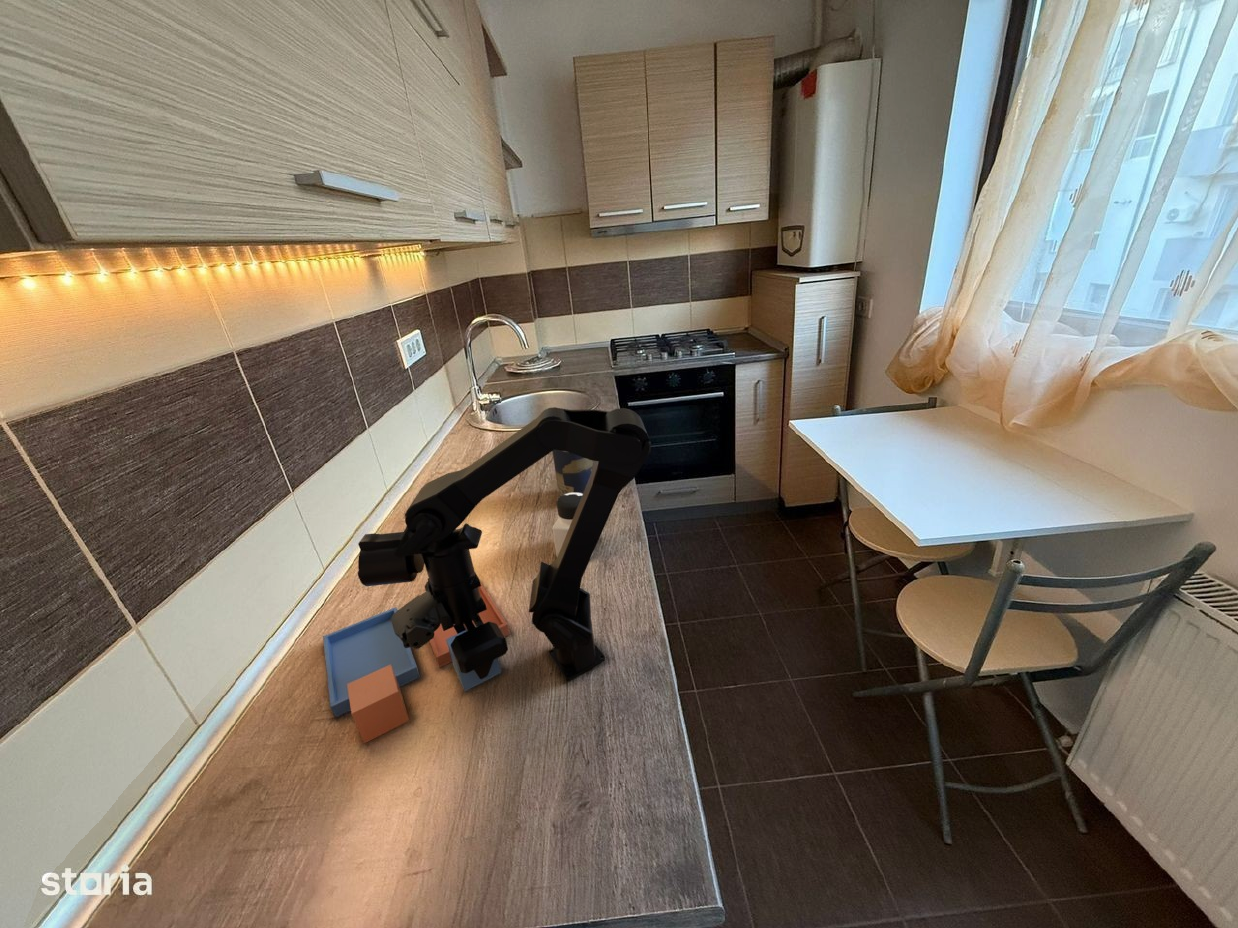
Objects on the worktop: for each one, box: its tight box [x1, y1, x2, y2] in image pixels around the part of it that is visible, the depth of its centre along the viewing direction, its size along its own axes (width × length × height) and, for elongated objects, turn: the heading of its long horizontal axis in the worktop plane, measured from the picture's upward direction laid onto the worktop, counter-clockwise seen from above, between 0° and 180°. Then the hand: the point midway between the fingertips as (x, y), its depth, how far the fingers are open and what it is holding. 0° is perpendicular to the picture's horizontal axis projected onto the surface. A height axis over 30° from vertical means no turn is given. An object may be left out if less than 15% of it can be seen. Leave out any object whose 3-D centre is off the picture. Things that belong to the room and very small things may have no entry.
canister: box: [552, 450, 593, 497], centre depth 114 cm, size 10×10×18 cm
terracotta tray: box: [428, 581, 510, 668], centre depth 80 cm, size 16×11×2 cm
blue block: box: [446, 626, 502, 692], centre depth 69 cm, size 6×6×6 cm
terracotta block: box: [347, 665, 410, 744], centre depth 63 cm, size 6×6×6 cm
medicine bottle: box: [551, 493, 597, 558], centre depth 95 cm, size 7×7×12 cm
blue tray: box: [322, 606, 421, 718], centre depth 73 cm, size 16×11×2 cm
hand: (474, 658), depth 70 cm, fingers open, 8 cm apart
